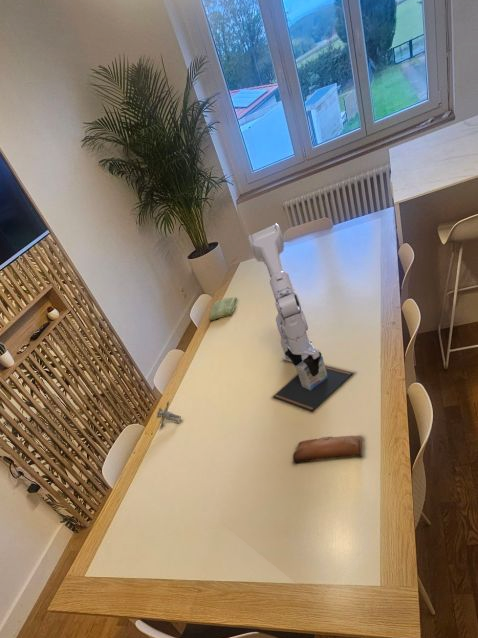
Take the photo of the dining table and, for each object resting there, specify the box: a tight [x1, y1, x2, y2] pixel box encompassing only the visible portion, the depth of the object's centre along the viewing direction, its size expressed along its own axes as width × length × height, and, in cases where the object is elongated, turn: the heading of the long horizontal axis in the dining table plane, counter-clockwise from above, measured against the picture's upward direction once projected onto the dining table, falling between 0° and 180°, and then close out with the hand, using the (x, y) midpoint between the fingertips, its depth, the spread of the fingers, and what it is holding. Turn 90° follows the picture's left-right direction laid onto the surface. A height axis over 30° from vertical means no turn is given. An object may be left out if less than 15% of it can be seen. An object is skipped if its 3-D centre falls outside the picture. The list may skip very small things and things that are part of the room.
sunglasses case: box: [292, 435, 363, 463], centre depth 112 cm, size 18×7×7 cm
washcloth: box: [209, 296, 238, 321], centre depth 204 cm, size 13×18×3 cm
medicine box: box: [295, 355, 328, 390], centre depth 133 cm, size 8×4×9 cm, turn 122°
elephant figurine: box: [156, 401, 182, 429], centre depth 150 cm, size 10×6×9 cm
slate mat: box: [272, 365, 354, 413], centre depth 136 cm, size 18×20×1 cm
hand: (307, 371), depth 132 cm, fingers open, 7 cm apart
